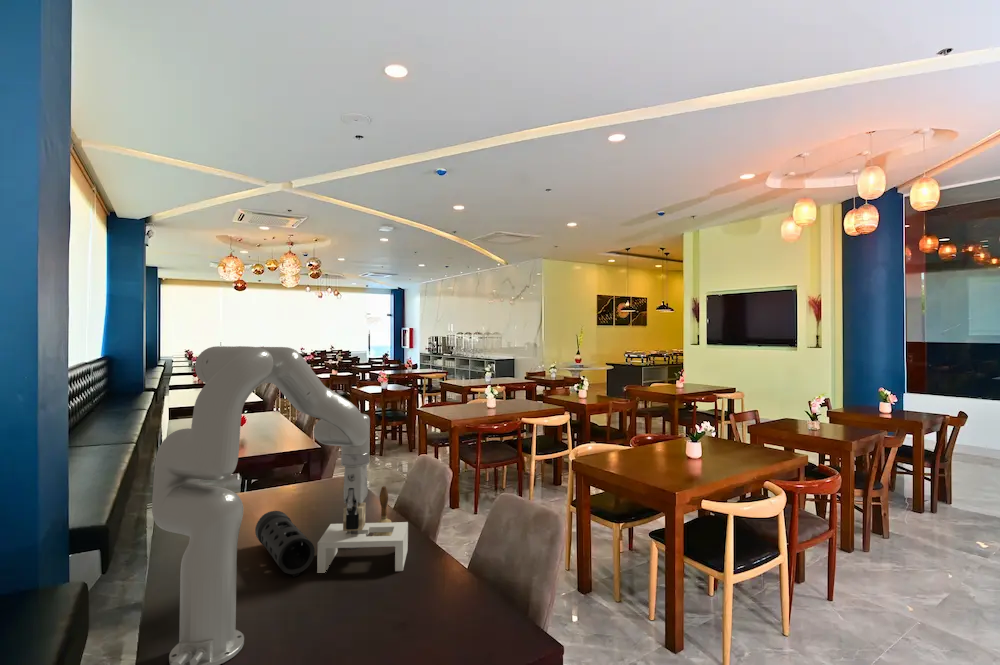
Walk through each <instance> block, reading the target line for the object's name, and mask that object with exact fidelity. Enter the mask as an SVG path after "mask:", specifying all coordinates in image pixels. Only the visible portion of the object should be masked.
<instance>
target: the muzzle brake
mask: <svg viewBox="0 0 1000 665" xmlns="http://www.w3.org/2000/svg"><path fill="white" fill-rule="evenodd" d="M254 532H255V538H257V540H258V541H259V543H260V544H262V546H263V547H264V548H265V549H266V551H267V552H268V553H269V555H270V556H271V558H272V559H273V560H274V561H275V563H276V564H277V566H278V567H279V568H280V570H281V571H282V572H283V573H285V574H287V575H292V577H297V576H300V573H302V572H304V571H305V570H306V569H308V568H309V567H310V566H311V564H312V562H313V561H314V558H315V554H316V551H315V545H314V544H313V543H312V541H311V540H310V539H309V538H308V537H307V536H306V535H305V534H304V533H303V532H302V531H301V530H300V529H299V528H298V527H297V526H296V525H295V524H294V523H293V522H292V520H291V519H290V517H289V516H288V515H287V514H286V513H284V512H283V511H279V510H273V511H272V510H271V511H268V512H266V513H264V514H263V515H262V516H261V517H260V518H259V520H258V521H257V523H256V525H255V531H254Z"/></svg>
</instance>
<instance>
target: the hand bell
mask: <svg viewBox="0 0 1000 665" xmlns="http://www.w3.org/2000/svg"><path fill="white" fill-rule="evenodd" d="M388 501H389V493H388V489H387V486H386V485H383V486H381V489H380V493H379V503H380V506H381V507H380V508H381V511H380V512H381V516H380V519H378V520H377V522H376V523H390V522H392V520H391V519H390V518H388V514H387V505H388ZM391 535H392V532H373V534H372V536H391Z"/></svg>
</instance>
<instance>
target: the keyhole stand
mask: <svg viewBox="0 0 1000 665" xmlns="http://www.w3.org/2000/svg"><path fill="white" fill-rule="evenodd" d="M375 532H392V535H391V536H373V535H372V536H371V535H369V534H371V533H373V534H374V533H375ZM408 542H409V522H408V521H402V522H400V521H399V522H397V521H395V522H392V521H391V522H390V523H377V522H365V525H364V527H363V529H362V530H358V534H351V531H343V523H330V524H329V526H328V527H327V528H326V530H325V531H324V533H323V534H322V536H321V538H320V539H319V540H318V541H317V557H316V558H317V559H316V560H317V563H316V564H317V566H316V567H317V569H316V570H317V571H316V573H325V572H326V573H327V571H328V569H329V567H330V566H331V565H332V563H333V560H334V559H335V557H336V556H337V553H338V550H339V549H347V548H355V547H361V548H382V547H384V548H386V547H390V548H391V547H394V549H395V550H394V552H395V553H394V554H395V555H394V572H403V571H404V568H405V564H406V559H407V554H408V547H409V546H408V545H409V544H408ZM329 565H330V566H329ZM326 570H327V571H326ZM326 573H325V574H326Z"/></svg>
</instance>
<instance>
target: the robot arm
mask: <svg viewBox="0 0 1000 665" xmlns="http://www.w3.org/2000/svg"><path fill="white" fill-rule="evenodd" d="M194 370H195V374H196V376H197V378H198V379H199V380H200V381H201V382H202V383H205V385H203V387H202V388H201V390H200V392H199V393H198V395H197V396H196V399H195V402H194V406H193V412H192V420H191V428H190V427H189V428H188V427H187V428H180V429H178V430H175V431H172V433H171V432H170V434H168V435H167V436H166V437H165V438H164V439H163V441H162V442H161V444H160V446H159V447H158V450H157V452H156V456H155V462H154V473H153V483H152V484H153V485H152V496H151V497H152V499H151V500H152V502H151V512H152V518H153V522H154V523H155V524H156V526H157V527H158V528H159V529H161V530H163V531H167V532H169V533H175V534H179V535H184V536H187V537H189V540H188V541H189V542H188V544H187V547H186V548H185V551H184V553H183V555H182V557H181V560H180V561H181V562H180V575H179V576H180V580H179V582H180V583H179V586H180V587H179V588H180V589H179V592H180V593H179V631H178V632H179V633H178V636H179V639H178V640H179V641H178V643H177V644H176V645H174V647H173V648H172V649H171V651H170V652H169V655H168V662H169V665H221V664H224V663H227V662H228V661H229V660H231V659H232V658H234V657H235V656H236V655H237V654H239V652H240V651H241V650H242V649H243V647H244V645H245V635H244V633H242V632H241V631H240V630H238V629H236V628H237V627H236V626H237V624H236V620H237V617H236V616H237V573H238V572H237V570H238V569H237V568H238V566H237V560H238V559H237V558H238V541H239V535H240V531H241V526H242V523H243V522H242V521H243V517H244V505H243V504H244V503H243V501H242V499H241V498H240V496H239V495H238V494H237V493H236V492H235V491H233V490H231V489H228V488H225V487H221V486H214V485H208V484H201V480H202V481H221V480H225V479H227V478H228V477H230V476H232V474H233V473H234V472H235V471H236V469H237V465H238V462H239V453H240V439H241V438H240V437H241V424H242V414H243V408H244V406H245V404H246V401H247V400H248V398H249V396H251V394H252V393H253V392H254V391H255V390H256V389H257V388H258V387H260V386H261V384H263V383H264V384H265V383H266V384H273V385H274V386H275V387H276V388H277V389H278V390H279V391H280V392H281V394H282V395H283V396H284V397H285V398H286V399H287V400H288V402H289V403H290V404H291V405H292V406H293V408H294V409H295V410H297V411H298V412H301V413H303V414H305V415H307V416H310V417H313V418H316V419H319V420H318V421H317V422H316V424H315V426H314V428H313V435H314V438H315V439H316V441H317V442H319V443H320V444H322V445H326V446H335V447H341V448H340V450H341V452H340V453H341V456H340V463H341V464H340V465H341V466H342V467H344V476H343V477H344V478H343V503H344V504H345V505H346V504H347V513H346V529H347V530H349V529H358V527H359V514H357V513H358V503H360V504H361V503H363V502H364V501H365V499H366V497H367V496H368V494H369V491H368V489H369V488H368V465H369V464H370V450H371V449H370V439H371V438H370V437H371V436H370V434H371V433H370V432H371V431H370V430H371V429H370V428H371V418H370V416H369V415H368V414H366V413H362V412H361V411H360V410H359V408H358V407H357V406H356V405H355V404H353V403H352V402H351V401H350V400H348V399H347V398H345V397H344V396H342V395H341V394H339V393H337V392H336V391H334V390H332V389H330V388H329V387H327V386H326V385H325V384H324V383H323V381H321V380H320V378H319V377H318V376H317V374H316V373H315V372H314V370H313V369H312V367H311V366H310V365H309V364H308V363H307V361H306V359H305V358H304V357H303V356H302V355H301V353H300V352H299V351H297V349H294V348H291V347H287V346H286V347H285V346H244V345H243V346H241V345H240V346H237V345H236V346H228V345H227V346H224V345H223V346H221V345H220V346H211V347H208V348H206V349H203V351H201V352H200V353H199V355H198V356H197V358H196V360H195V364H194ZM353 505H355V507H354V506H353Z"/></svg>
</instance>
